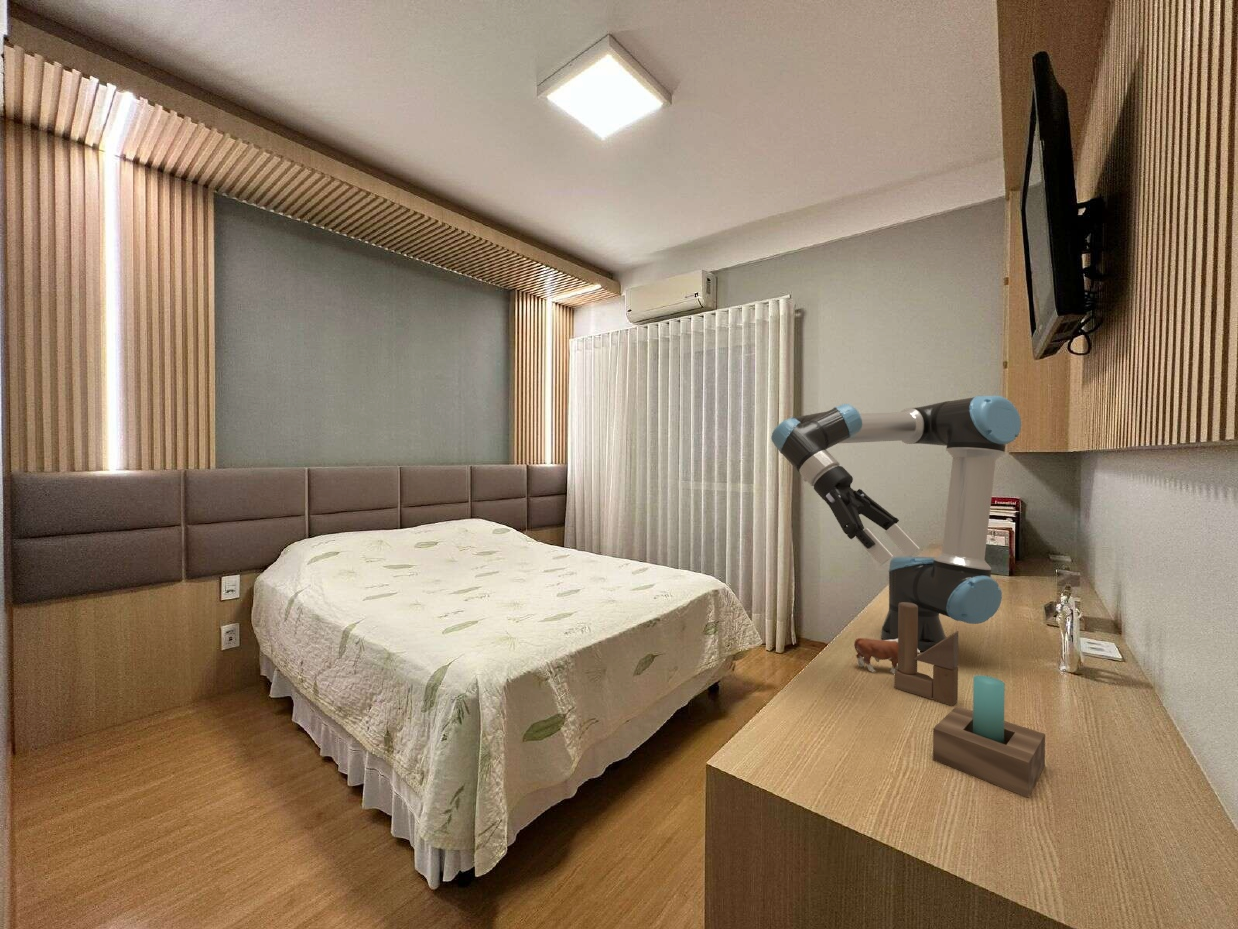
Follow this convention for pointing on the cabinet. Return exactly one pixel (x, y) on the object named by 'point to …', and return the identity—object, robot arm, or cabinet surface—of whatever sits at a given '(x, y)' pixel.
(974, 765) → the socket block
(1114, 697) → the cabinet surface
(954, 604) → the robot arm
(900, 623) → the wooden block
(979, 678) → the peg
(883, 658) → the bull figurine
